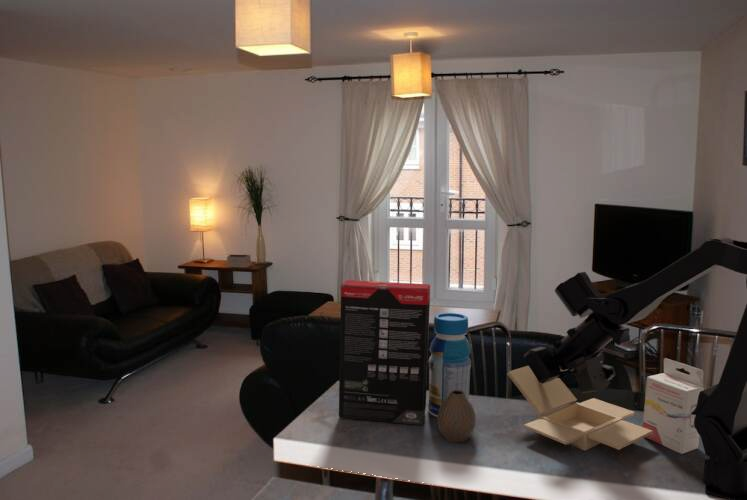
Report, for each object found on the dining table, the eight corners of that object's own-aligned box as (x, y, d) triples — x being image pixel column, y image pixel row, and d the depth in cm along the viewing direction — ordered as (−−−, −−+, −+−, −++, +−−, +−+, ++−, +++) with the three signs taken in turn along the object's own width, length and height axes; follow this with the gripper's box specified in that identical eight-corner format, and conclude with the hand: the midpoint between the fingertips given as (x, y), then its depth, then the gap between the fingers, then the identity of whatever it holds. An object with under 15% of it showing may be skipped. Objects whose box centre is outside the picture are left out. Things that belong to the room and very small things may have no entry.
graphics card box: (427, 413, 128) (430, 280, 124) (425, 427, 121) (429, 287, 117) (344, 407, 130) (345, 277, 127) (337, 421, 124) (338, 284, 120)
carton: (666, 437, 118) (667, 422, 118) (599, 472, 104) (600, 455, 104) (590, 410, 130) (591, 396, 130) (521, 438, 117) (521, 422, 116)
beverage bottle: (461, 424, 123) (464, 323, 120) (420, 415, 127) (423, 318, 124) (474, 409, 130) (478, 314, 128) (436, 402, 134) (439, 309, 131)
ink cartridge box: (640, 436, 118) (646, 360, 116) (657, 431, 121) (663, 356, 119) (682, 455, 111) (689, 374, 109) (699, 449, 114) (706, 369, 111)
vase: (464, 449, 112) (465, 402, 111) (430, 439, 116) (431, 393, 115) (481, 436, 118) (483, 390, 117) (448, 426, 122) (449, 382, 120)
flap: (576, 399, 127) (544, 360, 132) (540, 413, 119) (508, 371, 125) (575, 401, 127) (543, 362, 132) (538, 415, 120) (506, 373, 125)
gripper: (586, 385, 107) (531, 427, 117) (644, 364, 119) (589, 404, 128) (549, 330, 112) (499, 375, 122) (607, 315, 124) (558, 358, 134)
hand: (538, 379), depth 126 cm, fingers closed
